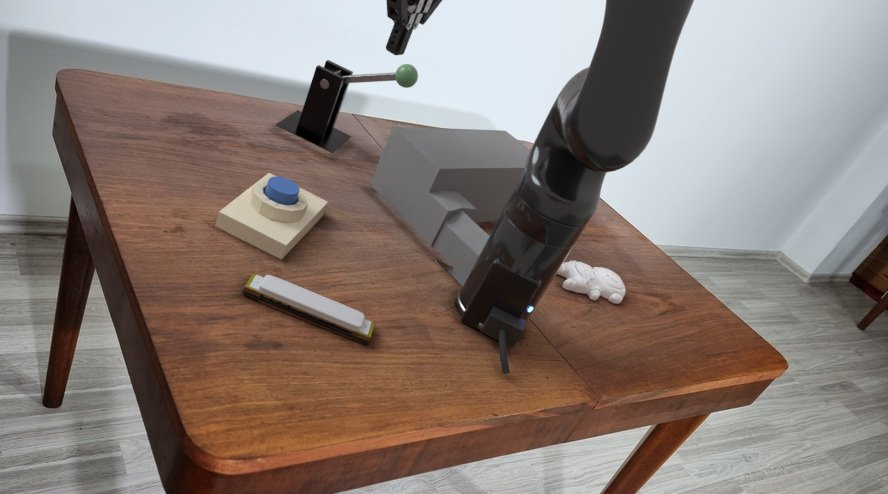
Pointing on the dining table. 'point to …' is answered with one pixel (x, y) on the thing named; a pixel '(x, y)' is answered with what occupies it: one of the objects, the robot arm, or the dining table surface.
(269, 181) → the blue button
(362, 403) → the dining table surface
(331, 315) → the harmonica
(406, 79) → the green lever
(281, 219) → the switch box
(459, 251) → the gray stepped block
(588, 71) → the robot arm
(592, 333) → the dining table surface
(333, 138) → the lever bracket
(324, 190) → the dining table surface
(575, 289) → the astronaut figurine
